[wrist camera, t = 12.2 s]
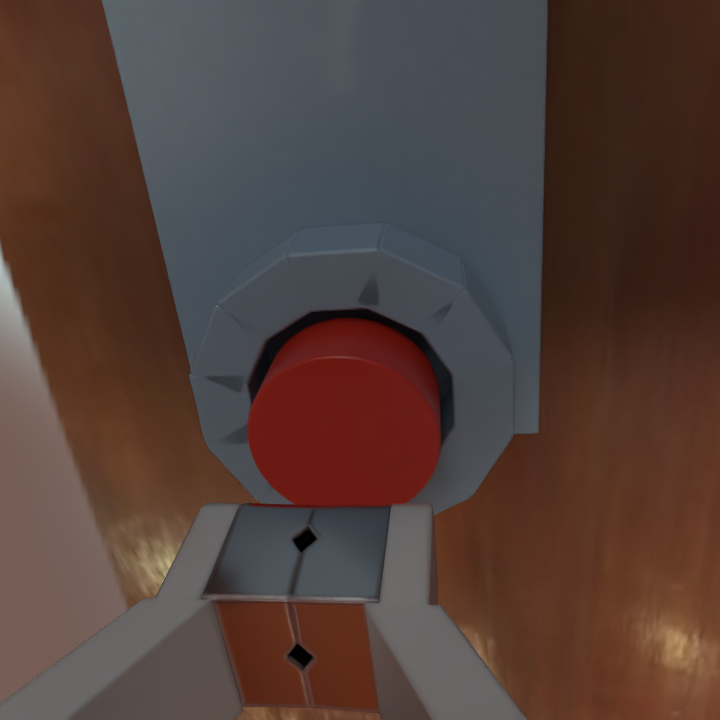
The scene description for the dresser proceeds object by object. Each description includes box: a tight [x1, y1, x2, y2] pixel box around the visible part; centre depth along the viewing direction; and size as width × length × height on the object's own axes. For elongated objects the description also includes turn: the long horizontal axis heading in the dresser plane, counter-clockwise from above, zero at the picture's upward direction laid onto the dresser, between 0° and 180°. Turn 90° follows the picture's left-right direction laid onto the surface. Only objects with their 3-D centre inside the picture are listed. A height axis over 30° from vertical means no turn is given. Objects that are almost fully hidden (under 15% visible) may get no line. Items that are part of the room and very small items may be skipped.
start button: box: [247, 318, 441, 505], centre depth 13 cm, size 4×4×2 cm
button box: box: [102, 0, 548, 515], centre depth 13 cm, size 17×8×4 cm, turn 6°
